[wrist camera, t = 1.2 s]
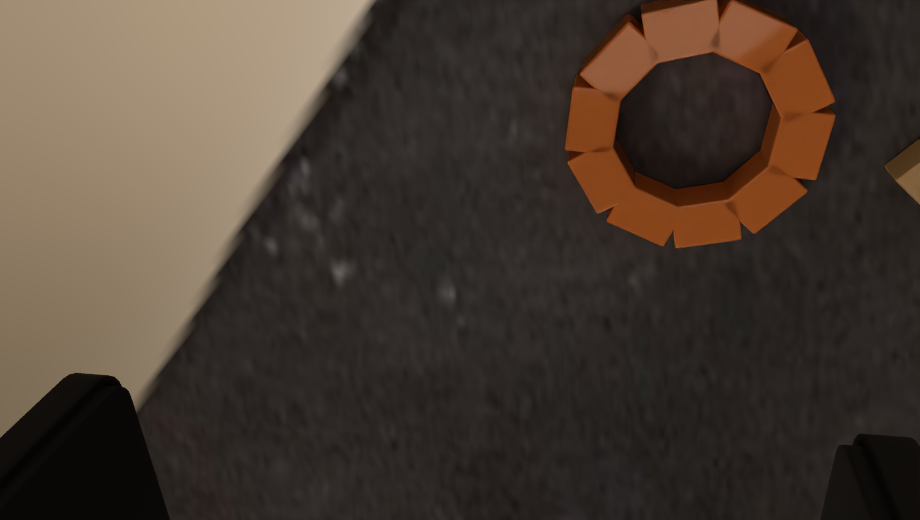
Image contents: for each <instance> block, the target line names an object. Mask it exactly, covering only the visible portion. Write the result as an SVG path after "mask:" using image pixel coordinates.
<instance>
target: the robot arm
mask: <svg viewBox="0 0 920 520" xmlns="http://www.w3.org/2000/svg"><path fill="white" fill-rule="evenodd" d="M0 520H170V518H169V515H168V512H167V509H166V506H165V503H164V499H163V496H162V493H161V490H160V487H159V484H158V480H157V477H156V474H155V471H154V468H153V465H152V461H151V458H150V455H149V452H148V449H147V446H146V442H145V439H144V436H143V433H142V430H141V427H140V423H139V420H138V417H137V414H136V411H135V408H134V404H133V401H132V398H131V395H130V393H129V391H128V390H127V389H126V388H123V387H122V386H121V384H120V382H119V381H118V380H117V379H116V378H115V377H113V376H109V375H95V374H82V373H74V374H69V375H68V376H66V377H65V378H63V379H62V380H61V381H60V382H59V383H58V384H57V385H56V386H55V387H54V388H53V389H52V390H51V391H50V392H49V393H47V394H46V395H45V396H44V397H43V398H42V399H41V400H40V401H39V402H38V403H37V404H36V405H35V406H34V407H33V408H32V409H30V410H29V411H28V412H27V413H26V414H25V415H24V416H23V417H22V418H21V419H20V420H19V421H18V422H17V423H16V424H15V425H14V426H12V428H10V429H9V430H8V431H7V432H6V433H5V434H4V435H3V436H2V437H1V438H0ZM821 520H920V446H919V445H918V443H917V442H916V441H915V440H914V439H912V438H908V437H895V436H882V435H870V434H859V435H857V437H856V438H855V439H854V442H853V445H852V446H850V445H840V446H839V447H838V448H837V451H836V454H835V459H834V463H833V467H832V472H831V476H830V480H829V485H828V489H827V493H826V498H825V502H824V507H823V511H822V515H821Z"/></svg>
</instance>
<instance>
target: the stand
mask: <svg viewBox="0 0 920 520" xmlns="http://www.w3.org/2000/svg"><path fill="white" fill-rule="evenodd" d="M884 167H885V169H886V170H887V171H888V172H889V174H890V175H891V176H892V177H893V179H894V180H895V181H896V182H897V183H898V184H899V185H900V186H901V187H902V188H903V189H904V190H905V191H906V192H907V193H908V194H909V195H910V196H911V197H912V198H913V199H914V200H915V201H916V202H917V203H918V204H919V205H920V139H918V140H917V141H916V142H914V143H913V144H912V145H910V146H909V147H908V148H907V149H905V150H904V151H903V152H901V153H900V154H899V155H897V156H896V157H895V158H893V159H892V160H891V161H890V162H888V163H887V164H886V165H885V166H884Z"/></svg>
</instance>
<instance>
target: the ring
mask: <svg viewBox="0 0 920 520" xmlns="http://www.w3.org/2000/svg"><path fill="white" fill-rule="evenodd" d="M640 8H641V16H642V23H643V25H642V24H641V23H639V22H638V21H637V20H636V19H635V18H634V17H633V16H632V15H631V14H630V13H627V14H626V15H625V16H624V17H623V18H622V19H621V20H620V21H619V22H618V24H617V25H616V26H615V27H614V28H613V29H612V30H611V31H610V32H609V33H608V34H607V35H606V36H605V37H604V38H603V40H602V41H601V42H600V43H599V44H598V45H597V46H596V47H595V48H594V49H593V50H592V51H591V52H590V53H589V54H588V56H587V57H586V58H585V59H584V60H583V61H582V63H581V69H580V75H579V74H577V75H575V78H574V84H573V89H572V96H571V104H570V111H569V119H568V126H567V134H566V141H565V150H568V151H569V155H568V161H567V163H568V165H569V167H570V168H571V170H572V172H573V173H574V175H575V177H576V178H577V180H578V182H579V184H580V185H581V187H582V189H583V190H584V192H585V194H586V196H587V197H588V199H589V201H590V202H591V204H592V206H593V207H594V209H595V211H596V213H598V214H599V213H601V212H603V211H605V210H607V222H608V223H611V224H613V225H615V226H618V227H620V228H622V229H624V230H627V231H629V232H631V233H633V234H636V235H638V236H640V237H642V238H645V239H647V240H649V241H651V242H654V243H656V244H658V245H660V246H664V245H665V243H666V242H667V240H668V239H669V237H670V235H671V234H672V232H673V235H674V242H675V247H676V248H684V247H691V246H698V245H706V244H713V243H720V242H727V241H735V240H741V239H742V234H741V224H740V222H741V223H742V224H743V225H744V226H745V227H746V228H747V229H748V230H750V231H751V232H752V233H753V234H755V233H756V232H758V231H759V230H760V229H761V228H763V227H764V226H765V225H767V224H768V223H769V222H770V221H772V220H773V219H774V218H775V217H777V216H778V215H779V214H780V213H782V212H783V211H784V210H785V209H787V208H788V207H789V206H791V205H792V204H793V203H794V202H796V201H797V200H798V199H799V198H801V197H802V196H803V195H804V194H806V193H807V192H808V191H807V188H806V187H805V185H804V183H803V181H802V179H808V180H816V179H817V176H818V173H819V170H820V166H821V163H822V160H823V157H824V153H825V150H826V147H827V144H828V141H829V137H830V134H831V131H832V128H833V124H834V121H835V118H836V115H835V113H834V112H833V111H832V110H831V108H830V107H829V106H828V105H830V104H832V103H834V102H835V98H834V96H833V93H832V91H831V89H830V87H829V84H828V82H827V80H826V77H825V75H824V73H823V71H822V68H821V66H820V64H819V61H818V59H817V57H816V55H815V52H814V50H813V48H812V45H811V43H810V41H809V40H808V39H807V38H806V36H805V35H804V34H803V33H802V32H801V31H800V30H799V29H797V28H796V27H795V26H794V25H793V24H792V22H791V21H790V20H789V19H788V18H786V17H784V16H781V15H779V14H777V13H775V12H773V11H770V10H768V9H766V8H764V7H762V6H759V5H757V4H755V3H753V2H750V1H748V0H720V1H719V3H718V0H660V1H656V2H651V3H647V4H642V5H641V6H640ZM711 52H713V53H715V54H718V55H720V56H722V57H724V58H727V59H729V60H731V61H733V62H735V63H738V64H740V65H742V66H744V67H747V68H749V69H751V70H753V71H755V72H758V74H759V76H760V78H761V81H762V83H763V85H764V87H765V89H766V91H767V93H768V96H769V98H770V100H771V102H772V104H773V105H772V108H771V112H770V116H769V120H768V123H767V127H766V131H765V135H764V138H763V142H762V146H761V150H760V151H759V152H758V153H756V154H755V155H754V156H753V157H752V158H751V159H749V160H748V161H747V162H746V163H745V164H744V165H742V166H741V167H740V168H739V169H738V170H737V171H735V172H734V173H733V174H732V175H731V176H729V177H728V178H727V179H726V180H725V181H724V182H719V183H713V184H707V185H700V186H694V187H688V188H681V189H674V188H671V187H669V186H667V185H665V184H662V183H660V182H658V181H656V180H653V179H651V178H649V177H647V176H644V175H642V174H640V173H638V172H635V171H634V169H633V167H632V165H631V163H630V162H629V160H628V158H627V156H626V154H625V153H624V151H623V149H622V147H621V145H620V144H619V142H618V140H617V138H616V136H615V134H616V128H617V122H618V116H619V110H620V104H621V100H622V99H623V98H624V97H625V96H626V95H627V94H628V93H629V92H630V91H631V90H632V89H633V88H634V87H635V86H636V85H637V84H638V83H639V82H640V81H641V80H642V79H643V78H644V77H645V76H646V75H647V74H648V73H649V72H650V71H651V70H652V69H653V68H654V67H655V66H656V65H657V64H658V63H662V62H667V61H672V60H677V59H682V58H687V57H692V56H696V55H701V54H706V53H711Z"/></svg>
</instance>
